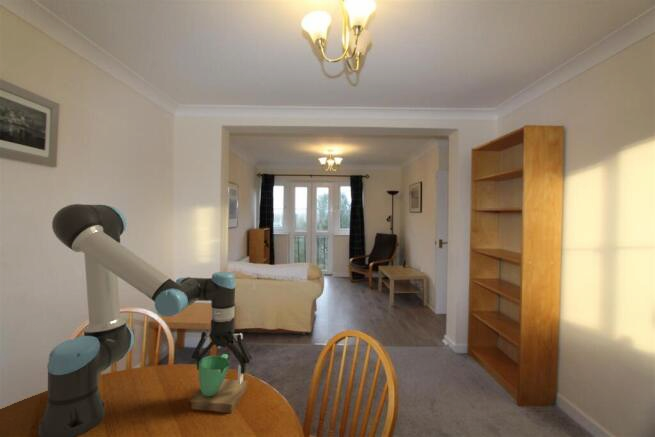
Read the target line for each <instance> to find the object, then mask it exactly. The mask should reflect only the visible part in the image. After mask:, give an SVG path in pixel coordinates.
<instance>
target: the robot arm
mask: <svg viewBox="0 0 655 437" xmlns="http://www.w3.org/2000/svg"><path fill="white" fill-rule="evenodd" d="M51 224H52V225H51V227H52V232H53V233H54V235H55V237H56V238H57V239H58V240H59V241H60V242H61V243H62V244H63V245H64V246H66V247H67V248H68V249H70V250H72V251H73V252H75V253H83V254H84V265H85V266H84V267H85V270H84V271H85V281H86V294H87V295H86V296H87V297H86V298H87V310H88V324H87V325H86V326H85V327H84V328H83V336H82V335H81V336H78V337H74V338H73V339H68V340H65V341H63V342H60V344H58V345H56V346H55V347H54V348H53V349H52V350H51V351H50V353H49V355H48V362H47V364H46V365H47V403H46V404H47V405H46V407H45V409H44V412H43V414H42V418H41V419H40V421H39V424H38V437H77V436H79V435H81V434H84V433H85V432H88V431H90V430H91V429H93V428H94V427H95V426H97V425H98V424H100V423H101V421H102V420H103V419H104V417H105V415H106V405H105V403H104V401H103V398H102V394H101V393H100V390H99V384H100V383H99V381H100V377H99V376H100V374H101V373H103V372H105V370H107V369H109V367H111V366H112V365H114V364H115V363H118V362H119V361H120V360H122V359H124V357H126V355H127V354H128V353H129V352H130V350H131V349H132V348H133V345H134V343H135V342H134V341H135V335H134V331H133V329H131V328H130V326H129V325H127V321H126V319H124V318H123V317H121V312H120V311H121V310H120V295H119V294H120V293H119V283H118V282H119V280H118V278H120V279H121V280H123V281H124V282H126V283H127V284H128V285H130V286H131V287H133V288H134V289H136V291H137V290H138V291H139V292H140V293H141V294H143V295H144V296H146V297H147V298H148V299H150V300H152V301H153V302H154V307H155V309H156V312H157V313H158V314H159V315H161V316H164V317H173V316H176V315H177V314H179V313H181V312H183V311H184V310H185V309H187V308H188V307H189V306H191V305H192V304H194V303H196V302H198V301H199V302H200V301H201V302H211V305H210V306H211V308H210V309H211V311H210V318H211V321H210V331H209V330H208V329H205V330H203V331H202V332H201V335H200V340H199V341H198V343H197V345H196V346H195V349H194V351H193V353H192V355H191V358H192V359H194V360H196V369H197V370H198V371H199V361H200V360H201V359H202V358H204V357H206V355H207V354H208V352H209V351H210V350H212V348H213V347H214V346H216V348H217V347H222V348H227V349H228V350H230V351H231V353H232V354H233V355H234V357H235V358H236V359H237V361H238V362H239V363H238V365H237V380H238V384H239V385H240V384H241V382H242V381H243V380H244V374H245V373H246V371H247V364H249V363H250V362H251V361H252V355H251V353H250V350H249V348H248V346H247V344H246V342H245V339H244V333H243V332H240V333H235V318H234V317H235V302H236V301H235V300H236V298H235V297H236V276H235V274H234V272H231V271H217V272H214V273H213V274H212V275H211V277H210V278H207V277H190V276H188V277H179V278H177V279H176V281H174V280H173V279H172V278H170V277H168V276H167V275H166V274H164V273H163V272H161V271H160V270H158V269H157V268H155V267H154V266H153V265H152V264H150V263H148V262H147V261H145V260H144V259H143V258H142V257H140V256H139V255H137V254H135V253H134V252H133V251H131V250H129V248H127V247H126V246H124V245H123V244H121V236H122V234H124V232H125V231H126V230H127V229H126V228H127V219H126V217H125V215H124V214H123V212H122V211H121V210H119V209H118V208H116V207H115V206H112V205H106V204H82V203H74V204H69V205H66V206H63V207H62V208H60V209H59V210H58V211H57V212H56V213H55V215H54V216H53V218H52V221H51ZM208 338H210V340H211V342H210V343H209V344H208V345H207V346H206V347H205V348H204V349H203V346H204V345H205V343H206V341H207V339H208ZM234 339H235V340H234ZM235 341H236V342H237V343H236V342H235ZM202 349H203V351H202V352H201V350H202ZM200 352H201V353H200Z"/></svg>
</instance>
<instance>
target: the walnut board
mask: <svg viewBox="0 0 655 437" xmlns="http://www.w3.org/2000/svg"><path fill="white" fill-rule="evenodd" d="M248 383H249V381H248V380H244V379H243V381H242V382H241V384H240V385H239V384H238V379H232V378H224V380H223V382H222V384H221V386H220V388H219V390H218V391H217V393H216V394H215V395H214V396H204V395H203V394H202V393H201V388H200V389H199V390H198V391H197V392H196V393H195V394H194V395H193V397H192V398H191V399H189V400H190V401H189V402H190V405H191V410H199V411H207V412H217V413H218V412H219V413H227V414H232V413H233V411H234V410H235V408H236V407H237V405H238V404H239V402H240V401H241V399H242V398H243V396H244V394H245V393H246V392H247V389H248Z"/></svg>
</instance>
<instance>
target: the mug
mask: <svg viewBox="0 0 655 437" xmlns="http://www.w3.org/2000/svg"><path fill="white" fill-rule="evenodd" d="M229 359H230V358H229V355H228V354H227V353H223V354H221V355H220V356H219V355H208V356H204V357H203V358H202V359H201V360H200V361H199V370H198V382H199V386H200V387H199V388H200V389H201V393H202V394H203V395H204V396H214V395H215V394H216V393H217V391H218V390H219V388H220V386H221V384H222V382H223V380H224V379H226V376H227V374H228V371H229V368H230V365H231V362H230V360H229Z"/></svg>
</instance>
